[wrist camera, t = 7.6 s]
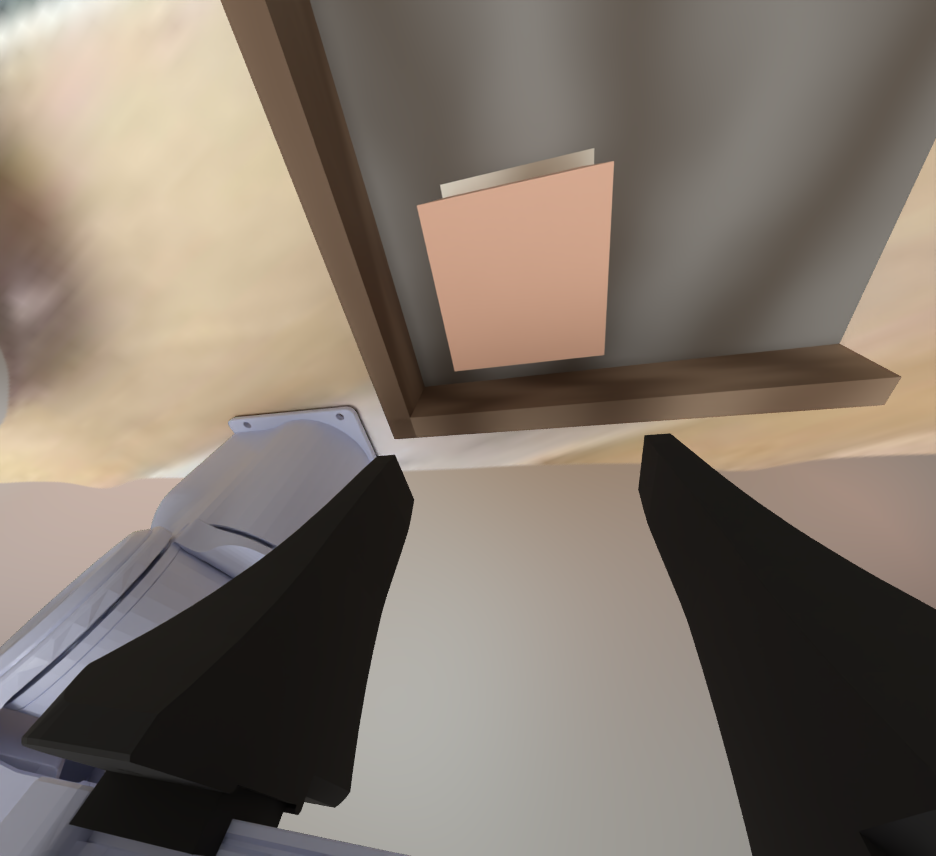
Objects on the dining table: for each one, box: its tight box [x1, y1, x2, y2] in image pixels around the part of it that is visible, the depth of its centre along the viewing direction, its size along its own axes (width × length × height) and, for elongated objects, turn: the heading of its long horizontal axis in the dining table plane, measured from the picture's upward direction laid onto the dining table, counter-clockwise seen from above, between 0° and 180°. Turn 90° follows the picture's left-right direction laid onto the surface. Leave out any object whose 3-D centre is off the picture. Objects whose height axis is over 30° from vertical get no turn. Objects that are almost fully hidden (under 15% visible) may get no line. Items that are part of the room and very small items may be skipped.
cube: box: [417, 161, 614, 371], centre depth 12 cm, size 5×5×5 cm
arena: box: [221, 0, 936, 439], centre depth 12 cm, size 20×16×4 cm
